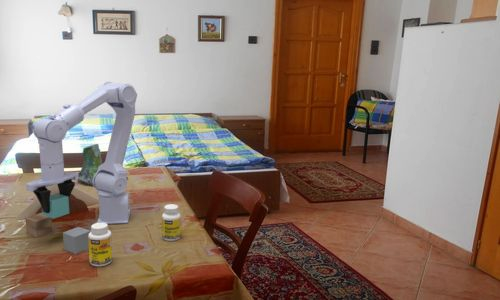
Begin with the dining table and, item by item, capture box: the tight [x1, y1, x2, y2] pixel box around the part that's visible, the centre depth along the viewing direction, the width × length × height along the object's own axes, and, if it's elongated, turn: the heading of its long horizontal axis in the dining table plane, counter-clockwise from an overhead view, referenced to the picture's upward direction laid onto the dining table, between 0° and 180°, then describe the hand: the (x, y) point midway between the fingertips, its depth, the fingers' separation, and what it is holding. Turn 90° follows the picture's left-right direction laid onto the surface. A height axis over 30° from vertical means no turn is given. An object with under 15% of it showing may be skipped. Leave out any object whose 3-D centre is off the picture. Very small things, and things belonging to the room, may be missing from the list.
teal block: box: [41, 193, 70, 220], centre depth 119 cm, size 5×5×5 cm
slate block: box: [62, 226, 91, 255], centre depth 116 cm, size 5×5×5 cm
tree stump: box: [77, 143, 128, 187], centre depth 176 cm, size 18×20×18 cm
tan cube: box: [24, 212, 53, 238], centre depth 125 cm, size 5×5×5 cm
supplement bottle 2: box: [161, 203, 182, 242], centre depth 124 cm, size 5×5×10 cm
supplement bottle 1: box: [88, 222, 113, 267], centre depth 108 cm, size 6×6×10 cm
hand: (55, 209), depth 119 cm, fingers closed on teal block, 5 cm apart
